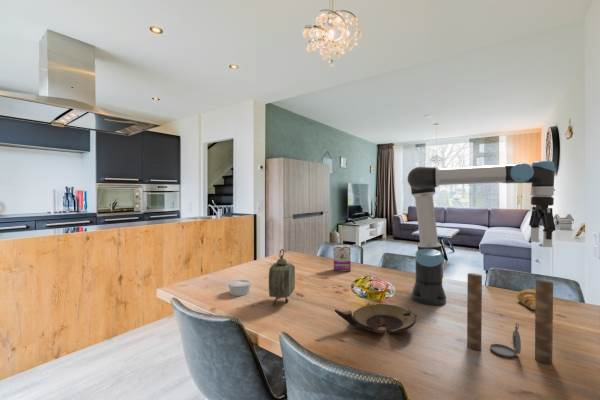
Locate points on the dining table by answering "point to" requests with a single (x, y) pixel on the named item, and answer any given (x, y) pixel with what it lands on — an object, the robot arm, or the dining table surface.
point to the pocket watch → (507, 350)
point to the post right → (544, 321)
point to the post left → (474, 311)
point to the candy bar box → (342, 258)
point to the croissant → (527, 298)
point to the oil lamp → (380, 318)
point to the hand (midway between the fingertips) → (540, 244)
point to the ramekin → (239, 287)
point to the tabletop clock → (281, 279)
